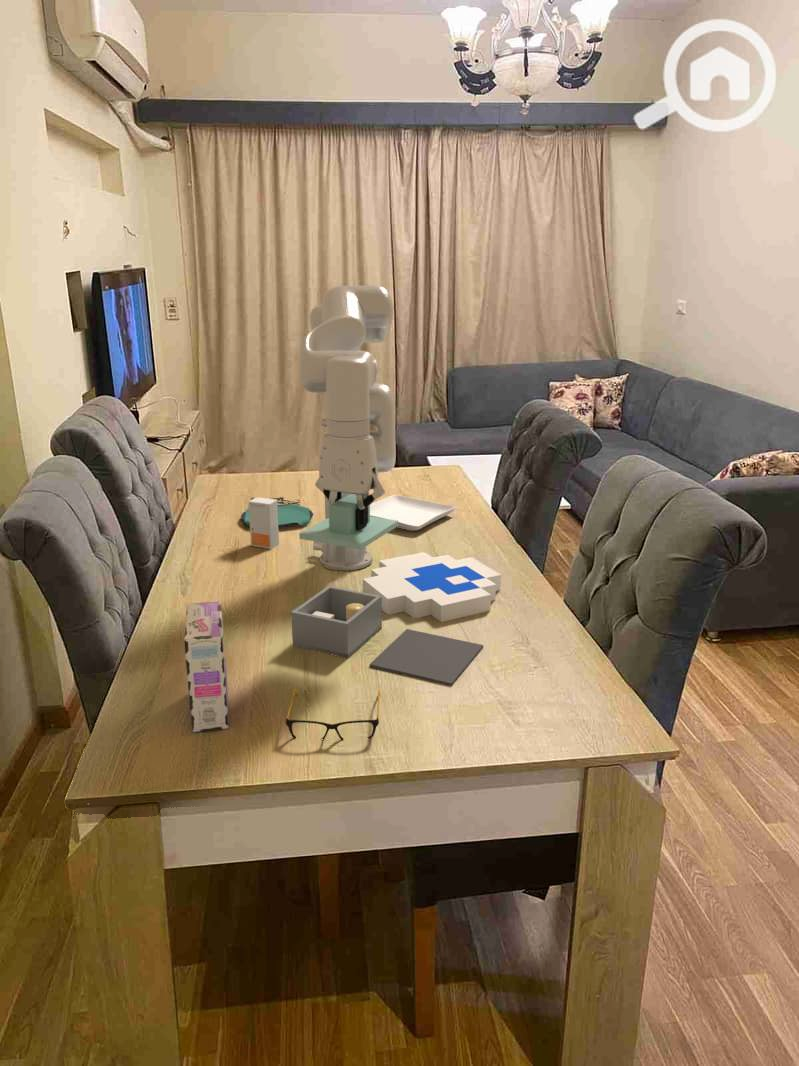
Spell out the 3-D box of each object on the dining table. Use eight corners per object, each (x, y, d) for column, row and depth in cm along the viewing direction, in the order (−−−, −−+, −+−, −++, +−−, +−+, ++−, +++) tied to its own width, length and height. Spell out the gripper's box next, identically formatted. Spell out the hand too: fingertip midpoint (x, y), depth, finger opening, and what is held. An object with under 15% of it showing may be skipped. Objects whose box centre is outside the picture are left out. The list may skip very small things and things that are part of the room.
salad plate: (457, 516, 232) (457, 505, 231) (417, 537, 215) (417, 525, 214) (394, 504, 243) (394, 493, 242) (352, 523, 226) (352, 511, 225)
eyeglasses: (285, 744, 126) (284, 722, 125) (296, 695, 140) (295, 675, 138) (378, 744, 126) (378, 722, 125) (380, 695, 140) (380, 675, 139)
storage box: (292, 645, 156) (291, 612, 154) (329, 617, 168) (328, 585, 166) (348, 658, 151) (347, 624, 149) (381, 628, 163) (381, 596, 161)
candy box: (229, 729, 129) (222, 635, 124) (191, 734, 128) (182, 639, 123) (228, 686, 142) (221, 599, 136) (193, 689, 141) (185, 602, 135)
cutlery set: (239, 533, 217) (238, 525, 217) (244, 502, 246) (244, 494, 245) (314, 531, 220) (314, 522, 219) (311, 500, 248) (311, 493, 247)
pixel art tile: (453, 546, 197) (522, 587, 174) (453, 562, 199) (521, 604, 175) (347, 566, 185) (406, 613, 162) (347, 582, 186) (406, 631, 163)
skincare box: (250, 546, 208) (247, 501, 204) (259, 541, 211) (256, 496, 207) (271, 549, 205) (268, 504, 201) (279, 544, 209) (277, 499, 205)
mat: (369, 666, 149) (369, 664, 148) (406, 631, 162) (406, 628, 162) (451, 685, 142) (451, 683, 142) (483, 647, 156) (483, 645, 156)
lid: (299, 538, 148) (298, 506, 146) (340, 516, 160) (339, 486, 158) (360, 549, 142) (360, 516, 140) (398, 525, 155) (398, 495, 153)
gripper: (296, 427, 145) (300, 525, 151) (380, 436, 138) (381, 539, 144) (319, 420, 151) (321, 514, 157) (400, 428, 144) (400, 527, 150)
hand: (350, 525), depth 151 cm, fingers closed on lid, 4 cm apart
